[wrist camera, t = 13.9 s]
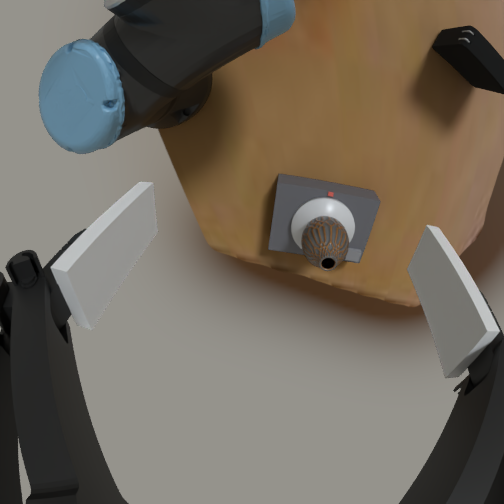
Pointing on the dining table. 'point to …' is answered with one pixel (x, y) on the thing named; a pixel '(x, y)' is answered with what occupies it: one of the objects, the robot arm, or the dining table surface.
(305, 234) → the vase
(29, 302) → the robot arm
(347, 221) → the grey dome button box
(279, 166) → the dining table surface
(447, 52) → the electronic device
